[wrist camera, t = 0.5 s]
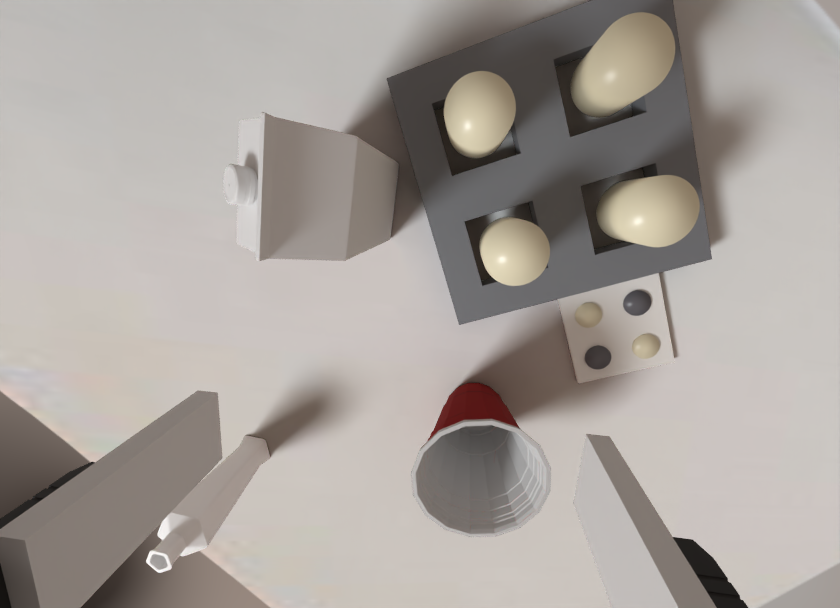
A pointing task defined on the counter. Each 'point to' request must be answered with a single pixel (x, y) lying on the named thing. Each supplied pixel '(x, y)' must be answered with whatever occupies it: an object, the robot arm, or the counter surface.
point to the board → (548, 160)
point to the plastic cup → (480, 467)
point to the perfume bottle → (207, 505)
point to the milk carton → (309, 191)
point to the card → (617, 329)
